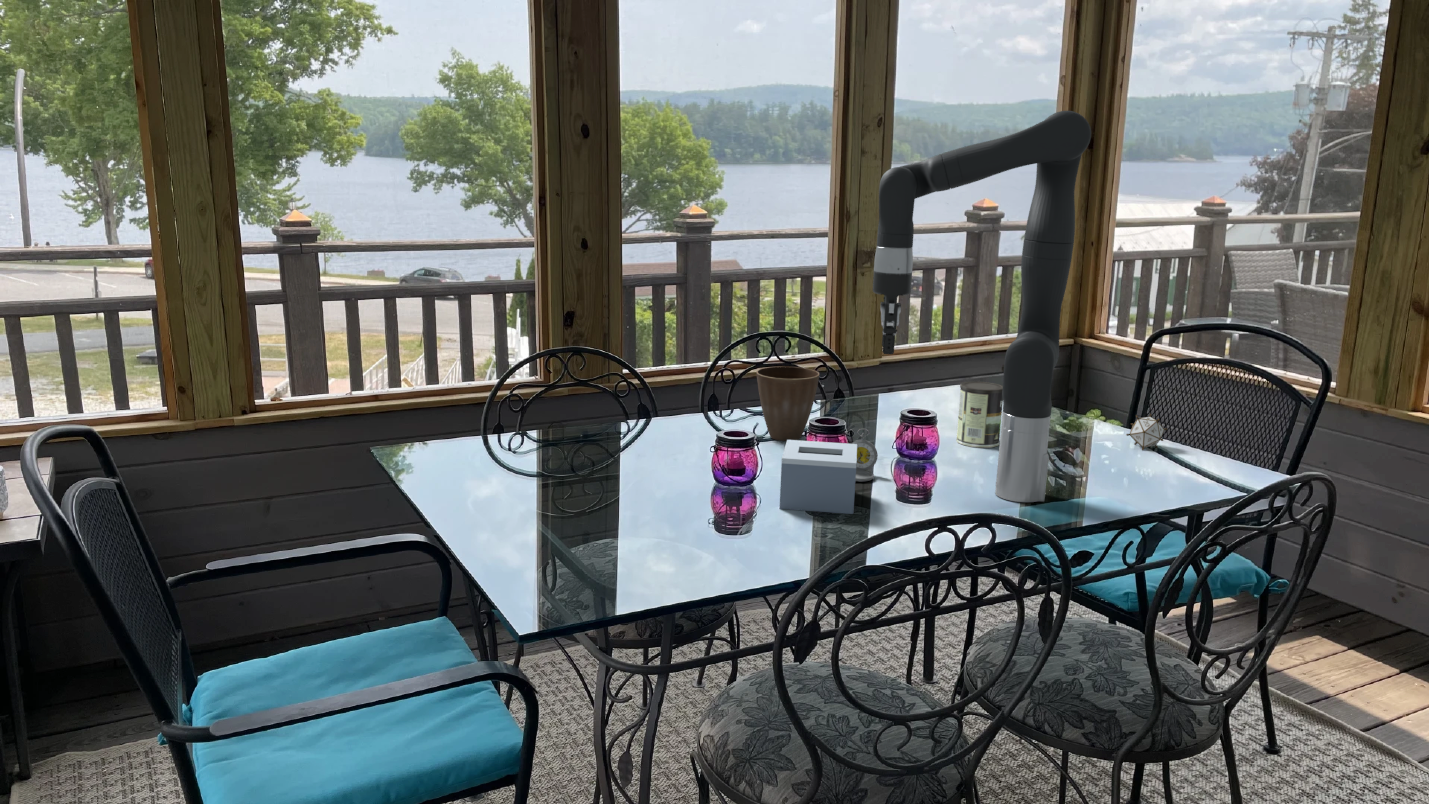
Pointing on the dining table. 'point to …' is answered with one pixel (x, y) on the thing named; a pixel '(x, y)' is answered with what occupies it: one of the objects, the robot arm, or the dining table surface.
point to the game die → (1146, 431)
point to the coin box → (818, 476)
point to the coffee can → (979, 414)
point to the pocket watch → (865, 458)
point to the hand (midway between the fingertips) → (887, 350)
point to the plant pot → (786, 399)
